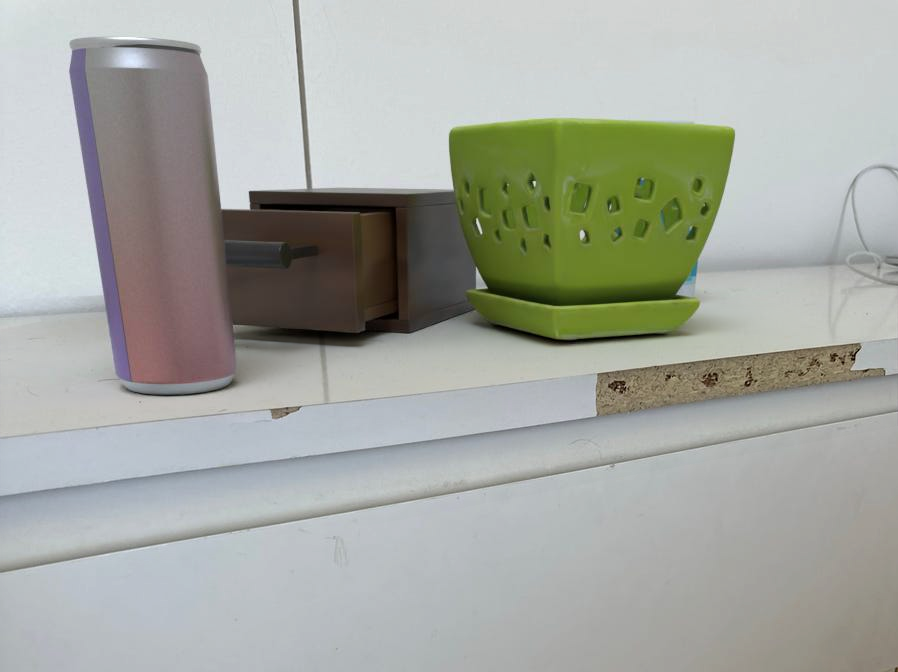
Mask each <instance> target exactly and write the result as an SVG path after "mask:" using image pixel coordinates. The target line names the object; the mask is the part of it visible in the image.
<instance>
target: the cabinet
mask: <svg viewBox="0 0 898 672" xmlns="http://www.w3.org/2000/svg"><path fill="white" fill-rule="evenodd" d="M248 199H249V200H248V202H249V209H250V210H262V209H276V208H291V207H305V206H316V207H358V208H396V232H397V269H398V306H399V311H397V312H394V313H391V314H388V315H385V316H381V317H378V318H375V319H372V320H368V321H365V330H364V331H370V332H371V331H372V332H373V331H374V332H387V333H403V334H411V333H413V332H416V331H419V330H421V329H424V328H427V327H429V326H433V325H435V324H437V323H440V322H443V321H445V320H446V321H447V320H449V319H452V318H454V317H457V316H459V315H462V314H465V313H467V312H470V311H473V310H476V309H475V308H474V307H473V306H472V304H471V303H470V302H469V300H468V298H467V296H466V291H467V290H472V289H477V267H476V265H475V263H474V261H473V258H472V256H471V253H470V251H469V248H468V245H467V242H466V239H465V236H464V233H463V230H462V226H461V222H460V219H459V215H458V210H457V206H456V201H455V195H454V189H450V188H449V189H448V188H447V189H446V188H444V189H443V188H391V187H390V188H388V187H387V188H385V187H317V188H315V187H313V188H291V189H289V188H287V189H286V188H285V189H265V190H264V189H262V190H260V189H259V190H249V191H248Z"/></svg>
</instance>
